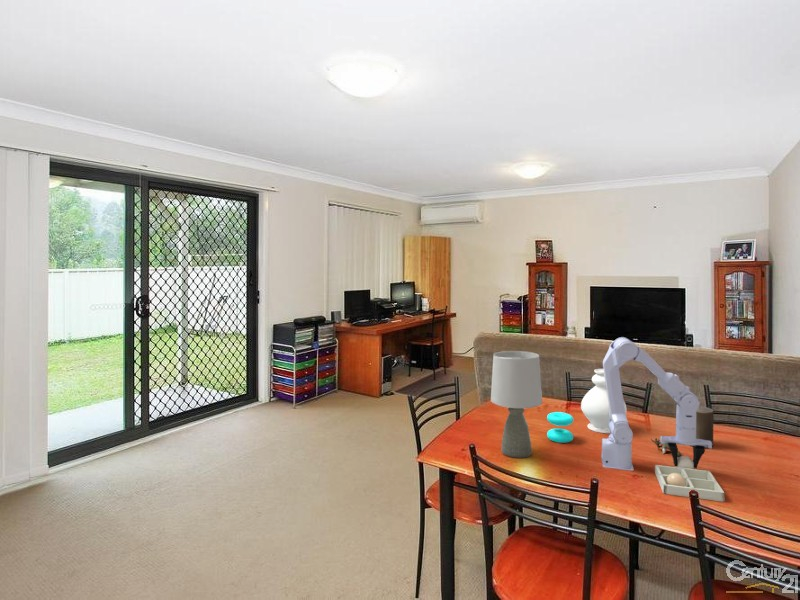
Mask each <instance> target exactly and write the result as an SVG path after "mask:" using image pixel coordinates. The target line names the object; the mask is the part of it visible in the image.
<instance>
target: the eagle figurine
mask: <svg viewBox="0 0 800 600" xmlns="http://www.w3.org/2000/svg"><path fill="white" fill-rule="evenodd" d="M650 441H651V442H653V443H654V444H655V445H656V447H657V450H660V448H662V453H661V454H662V455H663V454H665V453H666V450H669V451H670V448H669V446H668V444H667V443H665V444H662V443H661V442H660V438H658V437H656V438H654V439H652V438H650ZM680 456H683V455H682V453H681V452H680V451H679V450H678V453H677V458H679V457H680Z"/></svg>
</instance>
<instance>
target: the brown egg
mask: <svg viewBox="0 0 800 600" xmlns="http://www.w3.org/2000/svg"><path fill="white" fill-rule="evenodd" d="M667 483H668V485H675V486H683V487H685V486H686V481H685V478H684V477H683V476H682V475H680V474H678V473H671V474H669V475H668V477H667Z"/></svg>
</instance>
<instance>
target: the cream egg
mask: <svg viewBox="0 0 800 600" xmlns="http://www.w3.org/2000/svg"><path fill="white" fill-rule="evenodd" d="M677 463H678V465H677V466H676V467H679V468H688V469H695V468H694V462H693V458H691V457H689V456H688V455H682V456H680V457H677Z"/></svg>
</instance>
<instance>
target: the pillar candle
mask: <svg viewBox="0 0 800 600" xmlns="http://www.w3.org/2000/svg"><path fill="white" fill-rule="evenodd" d="M696 439H702V440H708V441H711V442H712V446H713V447H714V410H713V409H712V408H710V407H706V406H701V405H699V407H698V408H697V409H696ZM704 449H709V448H708V447H704Z"/></svg>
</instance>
